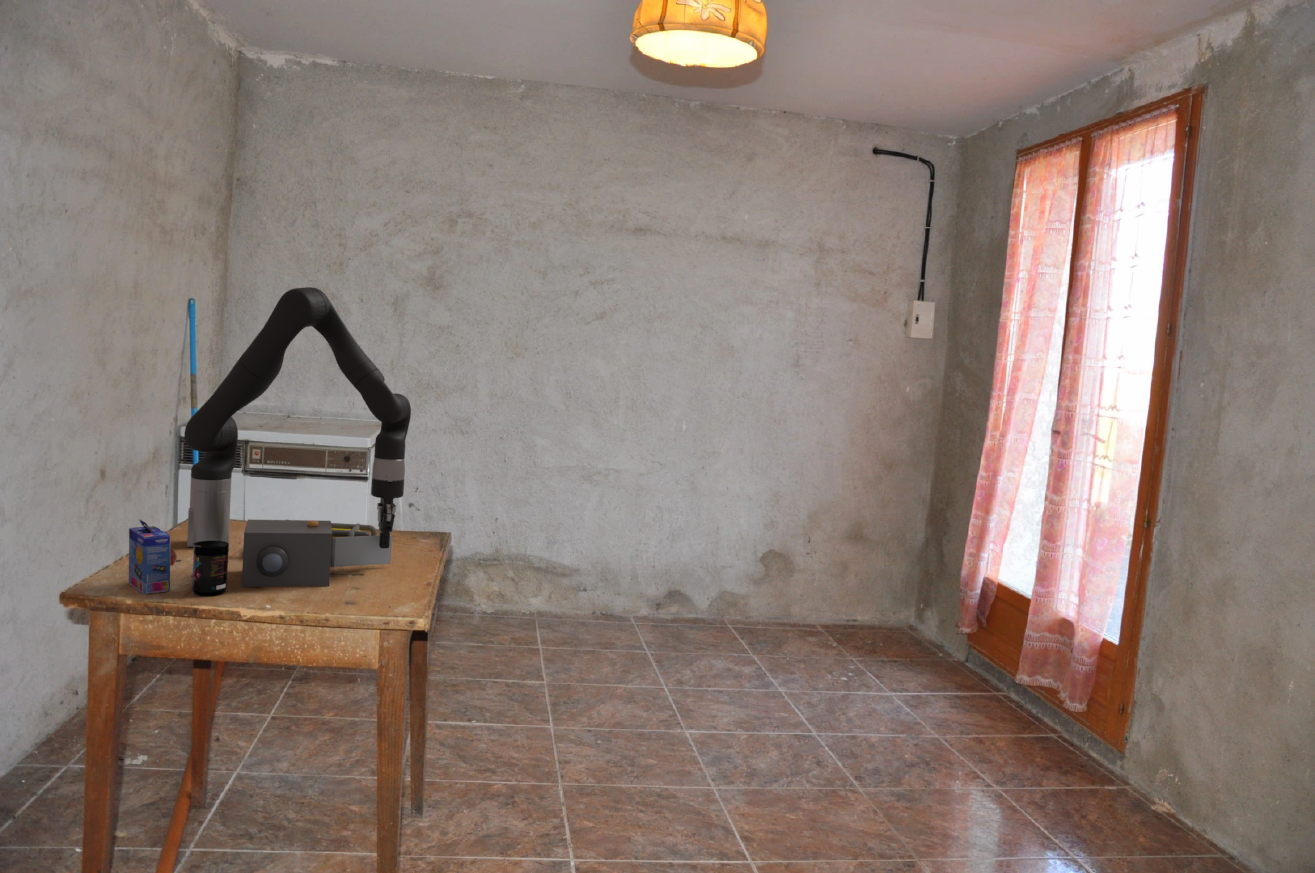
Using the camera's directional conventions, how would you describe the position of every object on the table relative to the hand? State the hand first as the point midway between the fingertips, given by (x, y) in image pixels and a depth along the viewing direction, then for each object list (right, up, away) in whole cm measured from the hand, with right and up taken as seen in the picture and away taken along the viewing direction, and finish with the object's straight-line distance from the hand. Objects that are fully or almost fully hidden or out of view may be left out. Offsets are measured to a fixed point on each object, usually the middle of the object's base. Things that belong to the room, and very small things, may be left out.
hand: (384, 547), depth 228 cm
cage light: (-19, -4, +9) cm, 22 cm away
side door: (-6, -4, 0) cm, 7 cm away
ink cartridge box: (-41, -5, -29) cm, 51 cm away
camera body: (-18, -6, -15) cm, 24 cm away
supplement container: (-28, -6, -29) cm, 41 cm away
